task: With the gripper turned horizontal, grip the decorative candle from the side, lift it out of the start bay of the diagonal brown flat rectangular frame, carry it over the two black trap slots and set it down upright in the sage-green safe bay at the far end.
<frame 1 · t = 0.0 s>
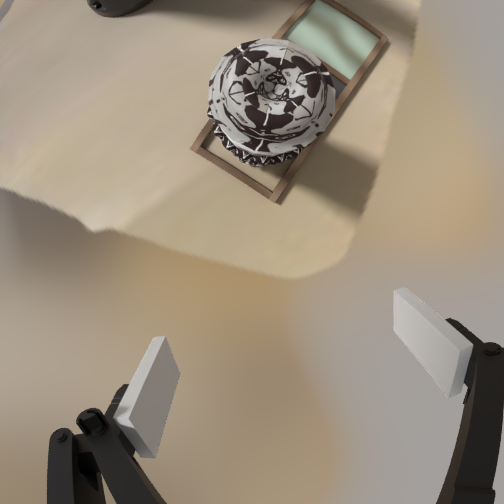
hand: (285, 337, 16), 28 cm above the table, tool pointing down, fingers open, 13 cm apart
brown flat rectangular frame: (298, 81, 37), on the table
decorative candle: (258, 137, 39), resting in brown flat rectangular frame
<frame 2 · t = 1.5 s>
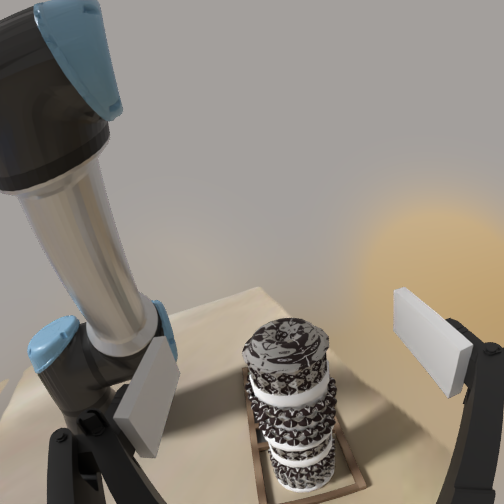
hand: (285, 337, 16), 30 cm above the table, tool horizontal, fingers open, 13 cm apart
brown flat rectangular frame: (291, 421, 43), on the table
decorative candle: (305, 470, 33), resting in brown flat rectangular frame
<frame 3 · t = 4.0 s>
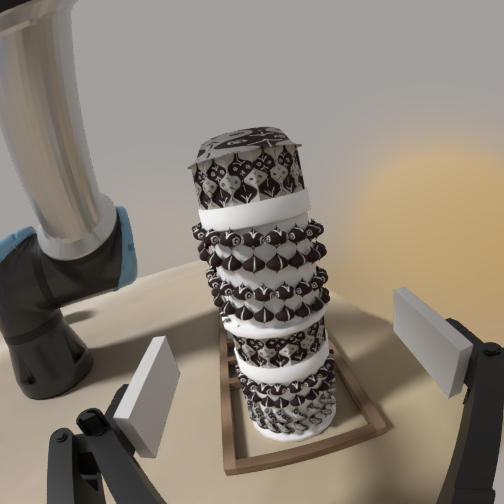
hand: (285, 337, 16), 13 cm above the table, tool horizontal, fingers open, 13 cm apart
brown flat rectangular frame: (275, 355, 36), on the table
decorative candle: (293, 411, 26), resting in brown flat rectangular frame
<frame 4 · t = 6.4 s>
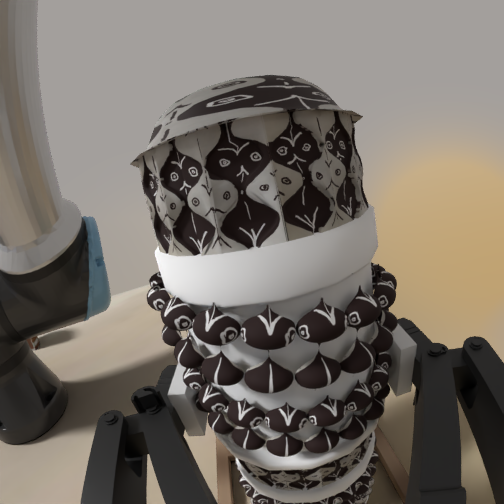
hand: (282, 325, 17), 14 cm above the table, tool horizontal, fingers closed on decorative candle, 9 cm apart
brown flat rectangular frame: (287, 411, 26), on the table
decorative candle: (312, 496, 16), resting in brown flat rectangular frame, touching gripper
food container: (30, 345, 49), on the table
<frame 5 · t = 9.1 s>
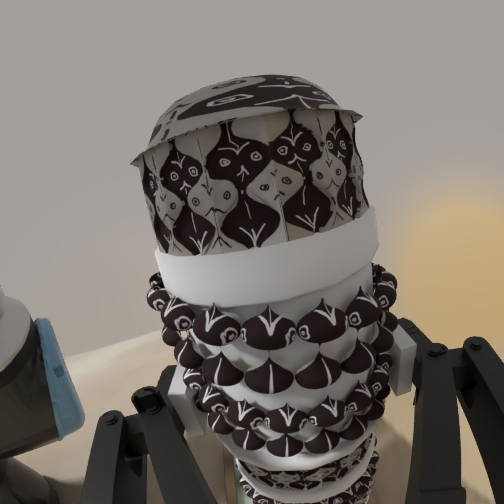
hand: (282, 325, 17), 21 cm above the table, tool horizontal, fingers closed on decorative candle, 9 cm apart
decorative candle: (313, 497, 16), point 7 cm above the table, touching gripper
when the fingers open (15 cm above the table, at t = 11.7 s): decorative candle drops 1 cm, resting on brown flat rectangular frame.
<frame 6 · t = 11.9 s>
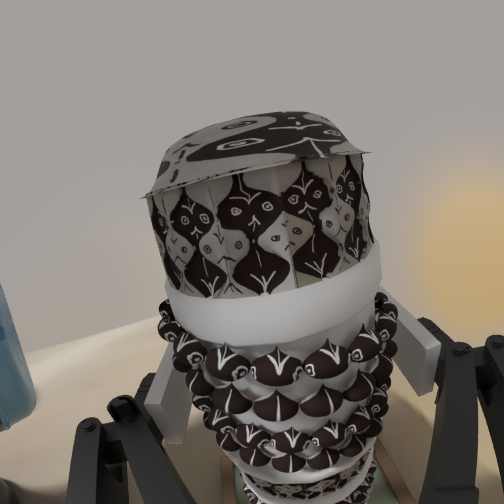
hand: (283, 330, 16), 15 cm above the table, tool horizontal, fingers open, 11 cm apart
decorative candle: (313, 502, 16), resting on brown flat rectangular frame
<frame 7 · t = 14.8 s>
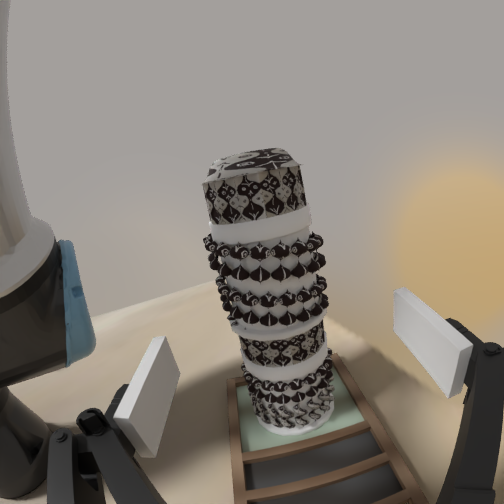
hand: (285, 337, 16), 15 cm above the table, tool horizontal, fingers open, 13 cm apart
brown flat rectangular frame: (319, 484, 18), on the table
decorative candle: (294, 407, 28), resting on brown flat rectangular frame
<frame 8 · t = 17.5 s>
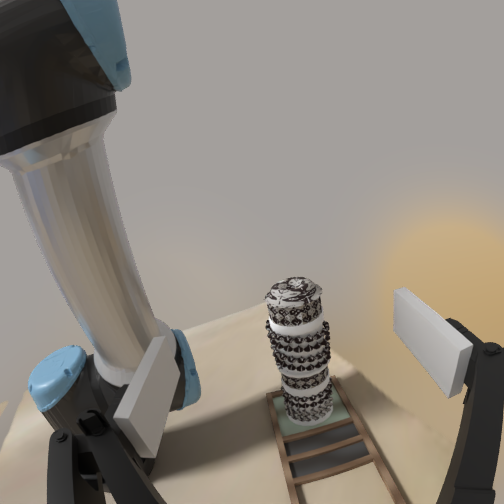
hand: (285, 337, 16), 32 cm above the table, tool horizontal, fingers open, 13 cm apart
brown flat rectangular frame: (326, 451, 36), on the table
decorative candle: (309, 410, 46), resting on brown flat rectangular frame
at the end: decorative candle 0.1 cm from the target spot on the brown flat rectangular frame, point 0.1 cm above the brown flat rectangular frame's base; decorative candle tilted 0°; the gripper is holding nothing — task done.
